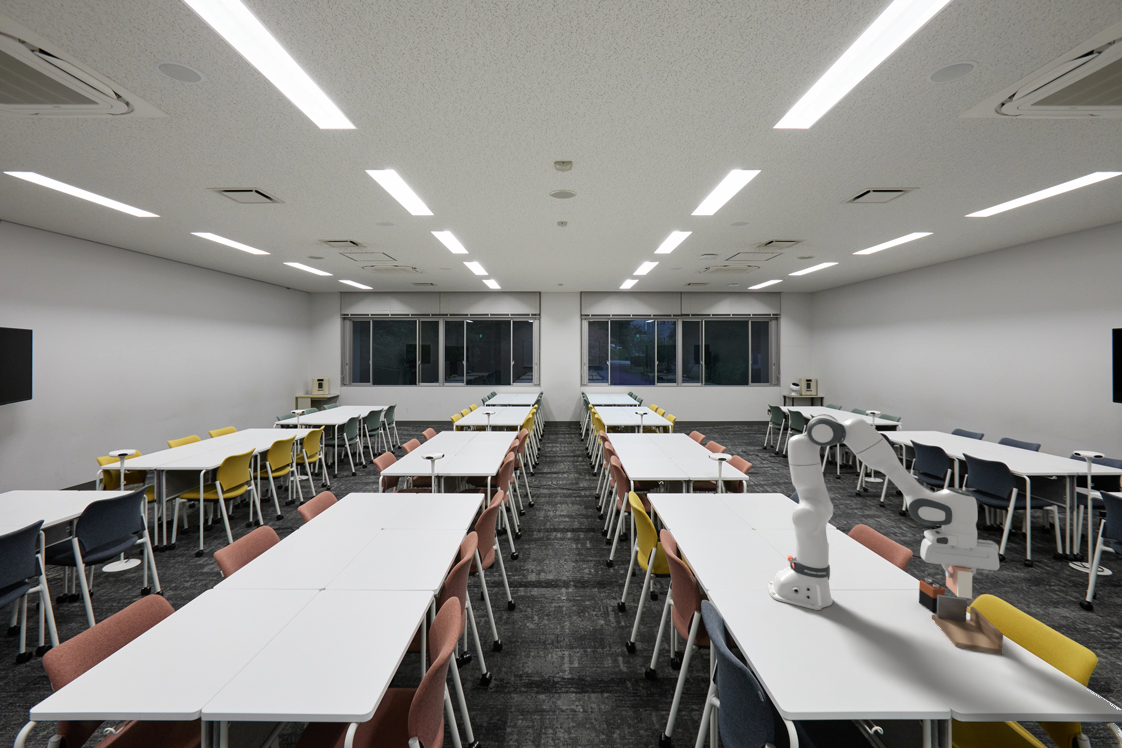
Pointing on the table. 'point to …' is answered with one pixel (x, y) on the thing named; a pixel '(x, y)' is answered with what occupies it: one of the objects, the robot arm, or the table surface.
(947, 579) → the rectangular block
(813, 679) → the table surface
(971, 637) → the shelf
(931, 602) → the battery
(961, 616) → the grey flat square slab
